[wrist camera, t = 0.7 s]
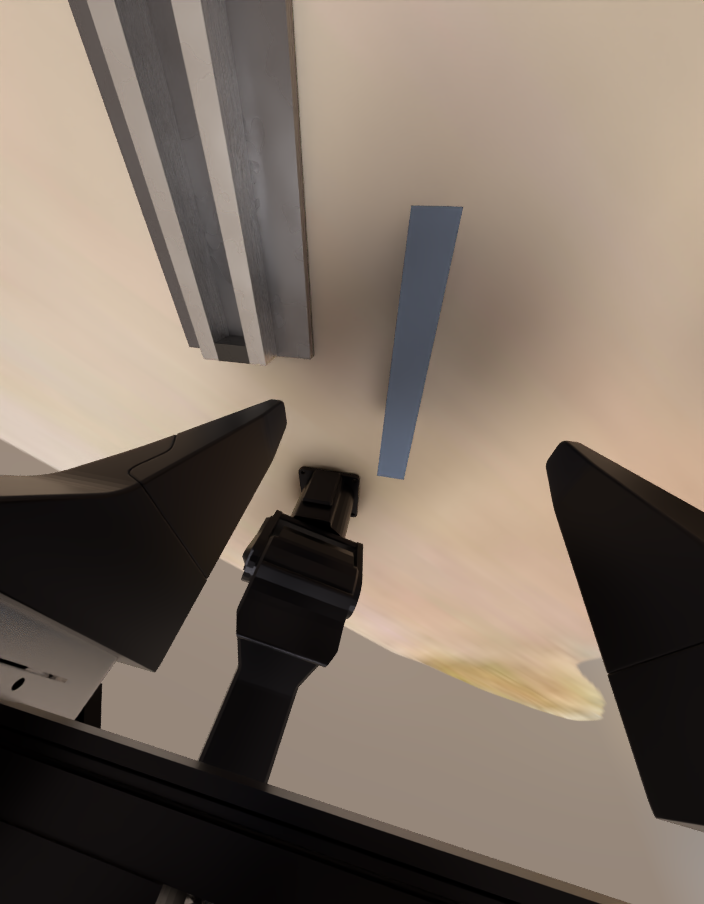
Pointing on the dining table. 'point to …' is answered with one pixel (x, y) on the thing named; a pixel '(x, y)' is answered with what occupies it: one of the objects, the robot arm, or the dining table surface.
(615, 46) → the dining table surface
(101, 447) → the dining table surface
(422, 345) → the door panel
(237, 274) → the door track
